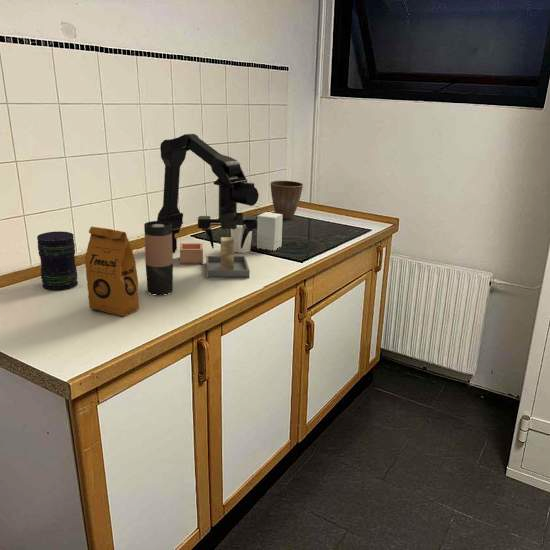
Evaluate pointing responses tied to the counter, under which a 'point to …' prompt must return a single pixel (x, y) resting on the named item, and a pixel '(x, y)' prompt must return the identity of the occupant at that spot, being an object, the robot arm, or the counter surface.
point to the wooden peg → (227, 253)
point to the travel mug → (159, 257)
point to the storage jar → (57, 260)
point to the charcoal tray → (215, 270)
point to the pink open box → (191, 253)
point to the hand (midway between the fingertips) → (227, 248)
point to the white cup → (237, 240)
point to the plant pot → (286, 197)
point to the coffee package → (111, 272)
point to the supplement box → (269, 231)
